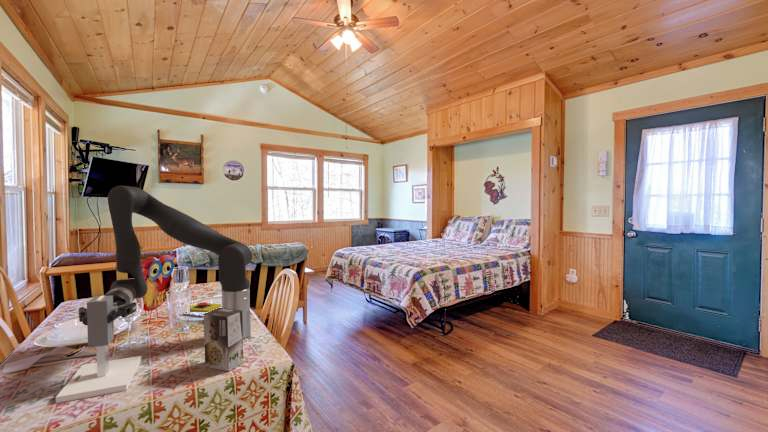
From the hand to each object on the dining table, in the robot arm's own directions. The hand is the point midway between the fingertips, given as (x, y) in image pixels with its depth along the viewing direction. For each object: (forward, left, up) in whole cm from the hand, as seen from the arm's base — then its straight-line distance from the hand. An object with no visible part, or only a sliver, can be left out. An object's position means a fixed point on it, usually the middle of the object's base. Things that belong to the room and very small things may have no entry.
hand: (97, 320), depth 92 cm
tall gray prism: (0, -3, -7) cm, 8 cm away
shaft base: (0, -3, -17) cm, 17 cm away
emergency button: (-23, -54, -18) cm, 61 cm away
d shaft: (0, -3, -16) cm, 16 cm away
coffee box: (-30, +1, -18) cm, 35 cm away
